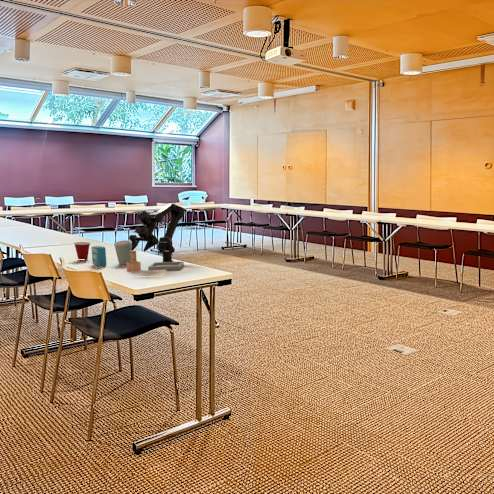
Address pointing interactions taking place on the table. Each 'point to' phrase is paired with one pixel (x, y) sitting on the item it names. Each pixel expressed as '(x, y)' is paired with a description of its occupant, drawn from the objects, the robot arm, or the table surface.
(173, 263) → the tray
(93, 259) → the data package
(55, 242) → the table surface
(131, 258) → the dowel
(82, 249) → the plastic cup
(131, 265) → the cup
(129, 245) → the disposable coffee cup
